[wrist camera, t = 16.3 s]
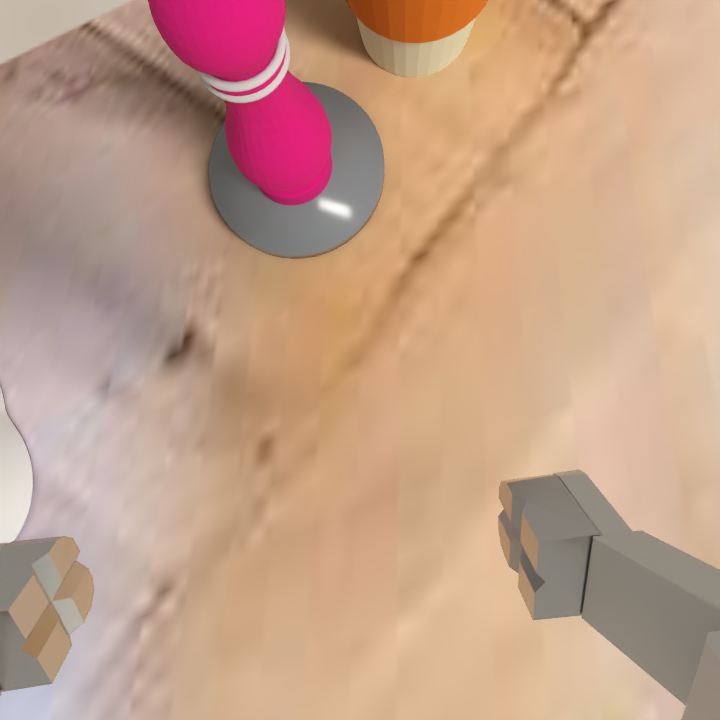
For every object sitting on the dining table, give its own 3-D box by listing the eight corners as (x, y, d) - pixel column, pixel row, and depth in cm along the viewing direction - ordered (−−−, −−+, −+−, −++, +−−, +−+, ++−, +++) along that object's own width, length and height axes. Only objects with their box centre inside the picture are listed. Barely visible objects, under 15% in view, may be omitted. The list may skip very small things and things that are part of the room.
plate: (191, 230, 38) (184, 224, 37) (246, 72, 39) (241, 62, 38) (352, 280, 37) (351, 276, 36) (407, 117, 38) (407, 108, 37)
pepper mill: (239, 137, 37) (63, -151, 17) (327, 112, 37) (248, -211, 17) (259, 222, 37) (101, 25, 17) (348, 198, 36) (293, -32, 16)
